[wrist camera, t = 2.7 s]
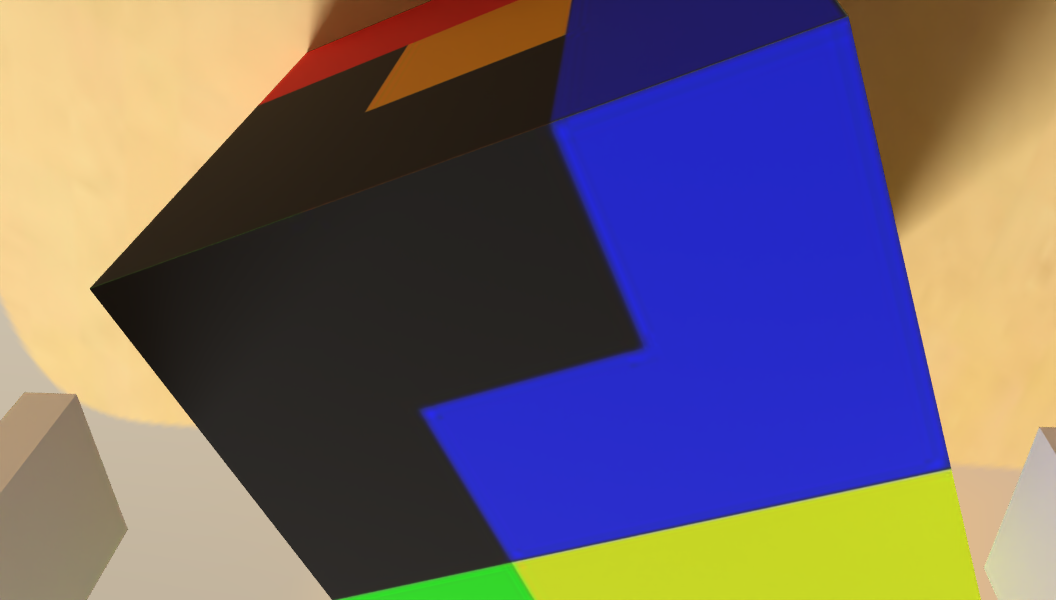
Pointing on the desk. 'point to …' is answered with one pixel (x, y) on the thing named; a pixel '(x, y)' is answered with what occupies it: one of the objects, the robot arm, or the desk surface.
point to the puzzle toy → (562, 312)
